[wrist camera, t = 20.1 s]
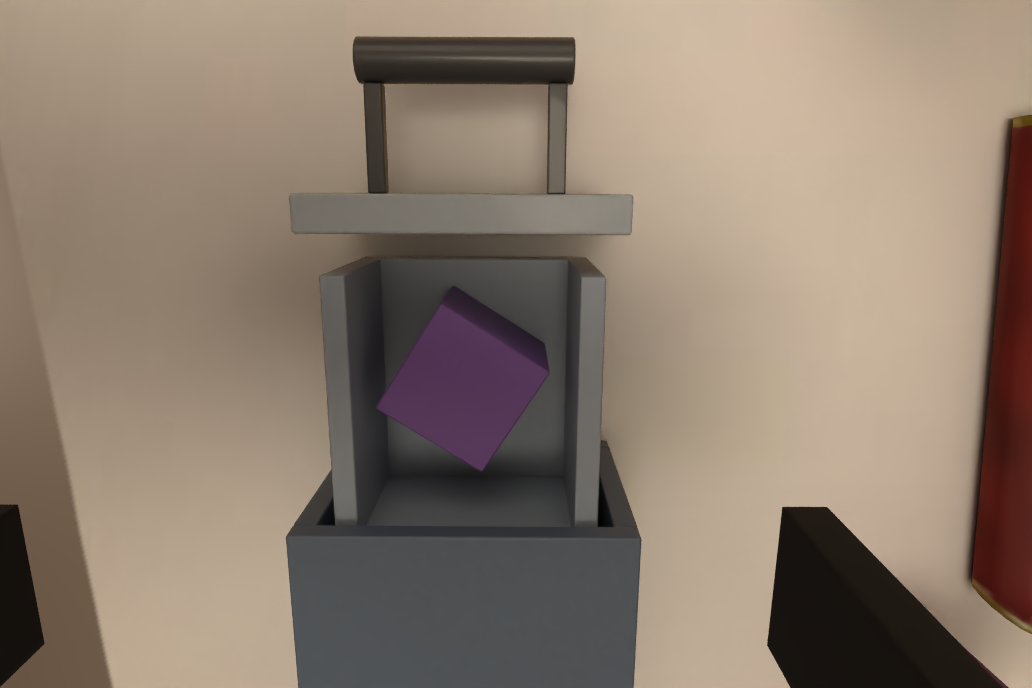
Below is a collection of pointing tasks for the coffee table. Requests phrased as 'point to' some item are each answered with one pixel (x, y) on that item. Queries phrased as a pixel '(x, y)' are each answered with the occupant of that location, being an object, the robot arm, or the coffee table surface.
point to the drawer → (490, 280)
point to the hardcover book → (1010, 409)
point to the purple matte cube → (466, 379)
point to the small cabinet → (466, 600)
